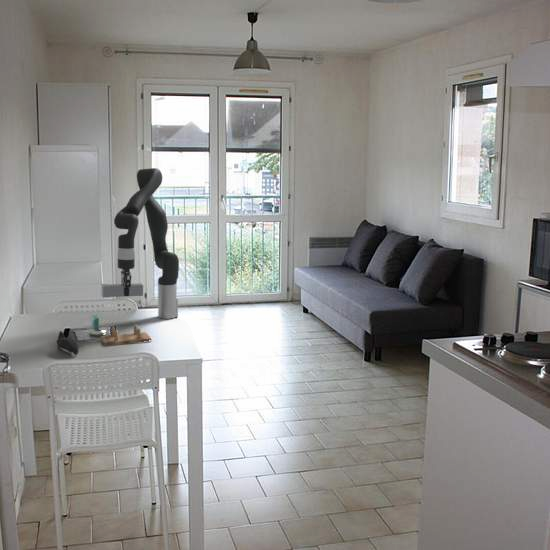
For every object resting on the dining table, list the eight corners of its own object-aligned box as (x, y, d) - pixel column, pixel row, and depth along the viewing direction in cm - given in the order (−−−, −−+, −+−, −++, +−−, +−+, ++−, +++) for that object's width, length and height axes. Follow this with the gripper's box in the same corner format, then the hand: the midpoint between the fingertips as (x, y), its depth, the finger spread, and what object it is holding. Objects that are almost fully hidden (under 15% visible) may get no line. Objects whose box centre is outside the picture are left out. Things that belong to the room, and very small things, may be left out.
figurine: (53, 356, 297) (68, 358, 286) (50, 332, 297) (65, 334, 285) (70, 353, 302) (85, 355, 290) (67, 329, 302) (82, 331, 290)
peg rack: (145, 335, 323) (145, 323, 322) (151, 341, 313) (151, 329, 312) (101, 339, 315) (100, 326, 314) (105, 345, 305) (105, 332, 304)
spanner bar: (141, 293, 327) (141, 283, 326) (143, 296, 322) (143, 285, 321) (101, 295, 321) (101, 284, 320) (103, 297, 316) (103, 286, 315)
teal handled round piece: (103, 326, 333) (102, 314, 332) (108, 334, 320) (108, 321, 319) (85, 328, 330) (85, 315, 328) (90, 336, 317) (90, 323, 316)
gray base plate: (105, 328, 333) (105, 327, 333) (112, 338, 317) (112, 337, 317) (72, 330, 327) (72, 330, 327) (78, 341, 311) (78, 340, 311)
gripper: (137, 260, 314) (136, 297, 317) (131, 255, 327) (131, 291, 330) (120, 260, 311) (120, 298, 314) (115, 255, 324) (115, 292, 327)
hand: (125, 294), depth 322 cm, fingers closed on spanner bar, 4 cm apart
